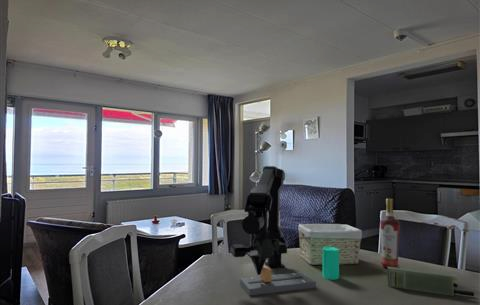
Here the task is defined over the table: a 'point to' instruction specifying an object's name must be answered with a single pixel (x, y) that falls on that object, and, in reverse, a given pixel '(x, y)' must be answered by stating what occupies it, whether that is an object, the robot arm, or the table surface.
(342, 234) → the storage basket
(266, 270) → the fader knob
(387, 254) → the liquor
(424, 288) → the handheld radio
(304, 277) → the fader panel
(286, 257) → the table surface
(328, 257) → the candle
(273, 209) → the robot arm
